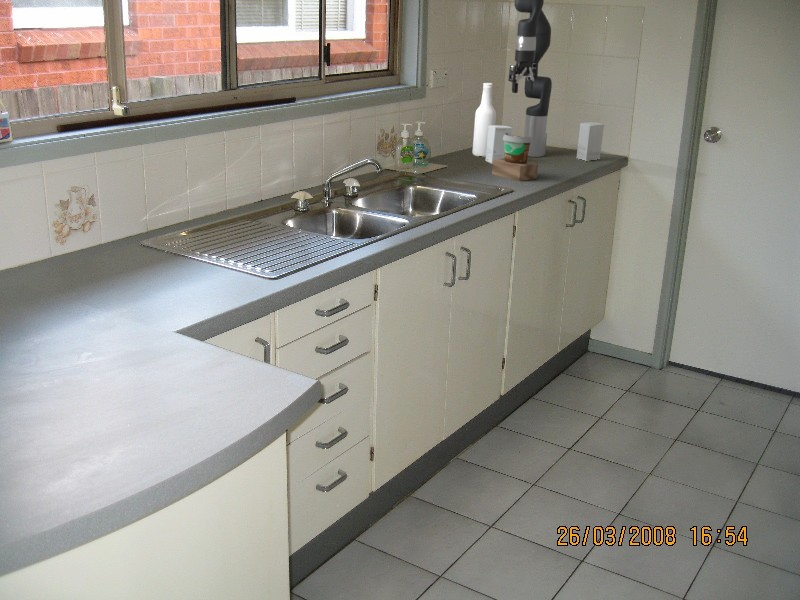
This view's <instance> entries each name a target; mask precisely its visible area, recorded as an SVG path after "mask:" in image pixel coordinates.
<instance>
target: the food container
mask: <svg viewBox="0 0 800 600" xmlns="http://www.w3.org/2000/svg"><path fill="white" fill-rule="evenodd" d="M503 140H504V152H505V161H506V162H509V163H527V161H528V158H529V156H528V153H529V147H530V143H532V140H531V137H524V136H520V135H511V136H510V135H508V133H505V134H504V136H503Z"/></svg>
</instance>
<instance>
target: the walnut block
mask: <svg viewBox="0 0 800 600" xmlns="http://www.w3.org/2000/svg"><path fill="white" fill-rule="evenodd" d="M538 167H539V163H537V162H534V161H529V160H527V163H509V162H506V161H505V158H501V159H494V160H493V164H492V167H491V168H492V170H491V175H493V174H494V175H493V176H497V175H498V176H497V177H501V176H502V178H505V177H506V178H505V179H509V178H510V179H509V180H513V179H514V180H513V181H518V182H523V181H528V180H534V179H538V178H537V177H538Z"/></svg>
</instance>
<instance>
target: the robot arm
mask: <svg viewBox="0 0 800 600" xmlns="http://www.w3.org/2000/svg"><path fill="white" fill-rule="evenodd" d="M544 2H545V1H544V0H514V3H513V4H514V8H515V10H516V11H517V12H519V13H527V14H528V13H529V18H524V19H520V20H518V22H517V34H516V40H515V50H514V62H516V63H515V65H513V64H511V65H509V73H508V81H509V82H511V83H512V84H511V92H512V93H513V94H518V92H519V81H520V80H521V79H522V78H523V77H524V78H525V79H524V87H523V89H524V94H525V97H526V98H529V99H535V100H537V99H538V100H540V101H539V103H537V104H535V105H530V106H528V107H526V109H525V121H524V132H523V137H531V140H532V143H530V147H529V153H528V157H532V158H540V157H541V156H542V157H544V156H545V155H546V146H547V137H548V133H547V124H548V114H549V109H550V107H549V106H550V99H551V96H552V95H551V94H552V87H553V86H552V85H553V82H552V78H551V77H549V76H539V75H538V74H539V72H538V71H539V63H540V61H541V60H542V58H543V57H544V55H545V54H546V53H547V52H548V50H549V48H550V46H551V39H552V37H551V36H552V27H551V24H550V22H549V20H548V18H547V16H546V15H545V13H544V11H543V7H544V4H545V3H544Z"/></svg>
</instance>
